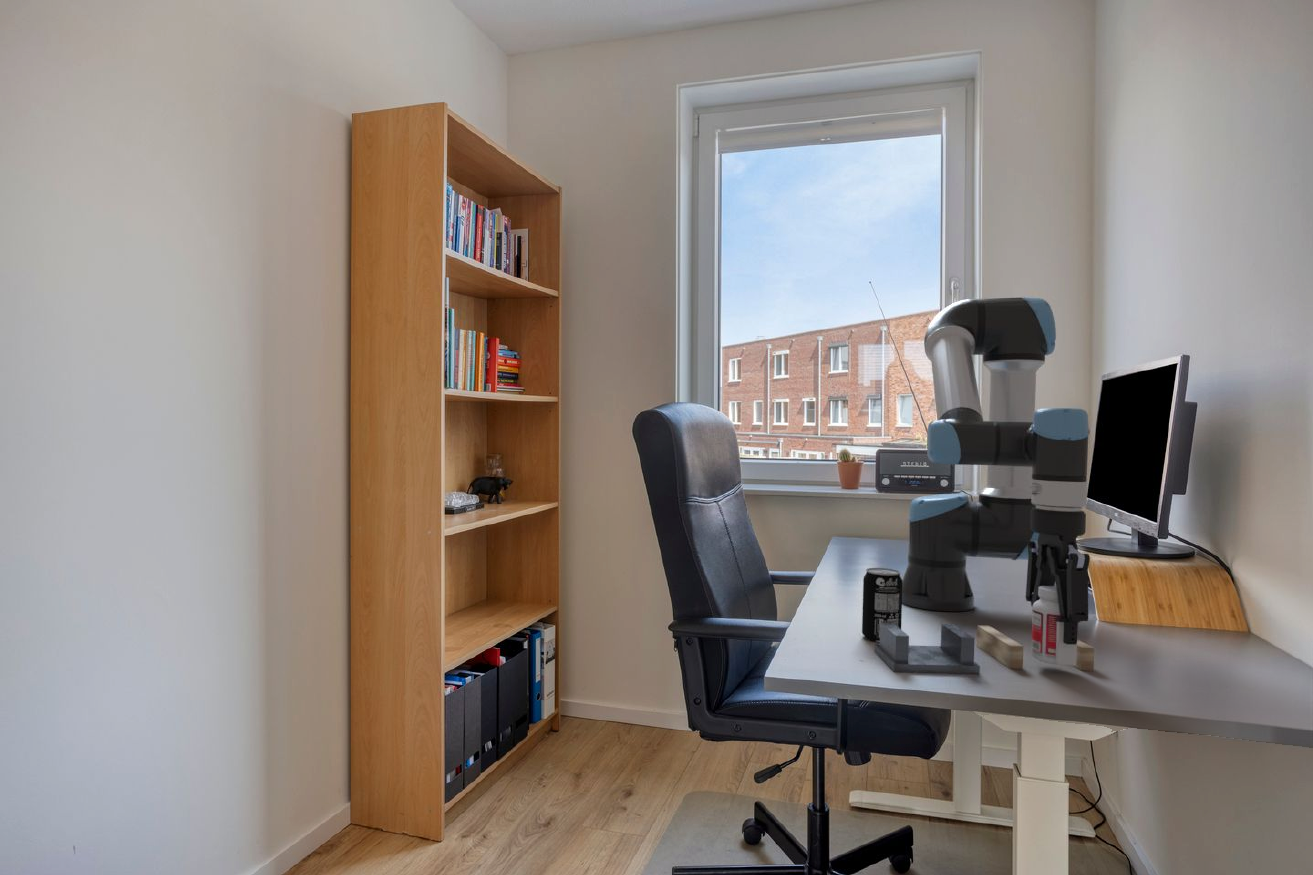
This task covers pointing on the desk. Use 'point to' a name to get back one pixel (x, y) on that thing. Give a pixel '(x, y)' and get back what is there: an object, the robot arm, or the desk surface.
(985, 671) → the desk surface
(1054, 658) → the pill bottle
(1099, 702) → the desk surface
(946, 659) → the cradle
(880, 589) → the beverage can
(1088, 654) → the guide channel
